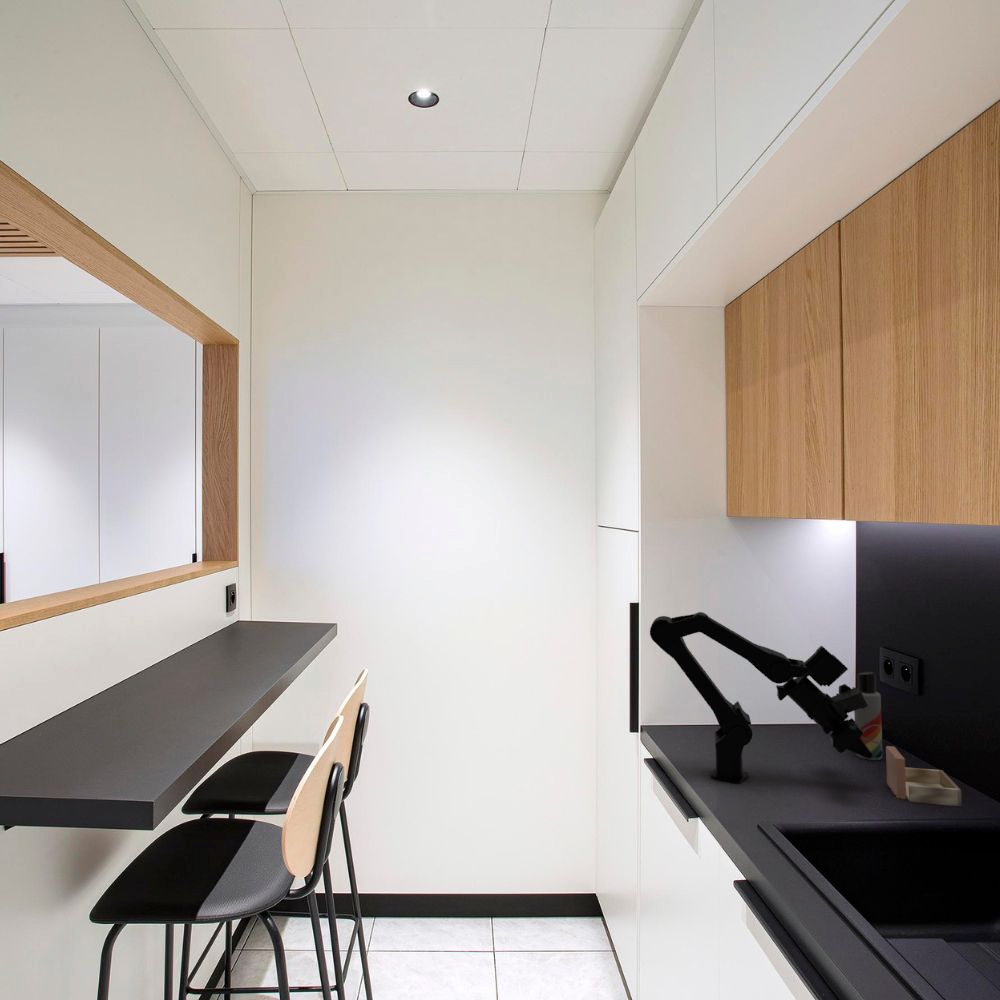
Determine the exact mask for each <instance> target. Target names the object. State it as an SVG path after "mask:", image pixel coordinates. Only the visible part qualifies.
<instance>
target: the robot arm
mask: <svg viewBox="0 0 1000 1000" xmlns="http://www.w3.org/2000/svg"><path fill="white" fill-rule="evenodd" d="M698 633H701V634H703V635H705V636H706V637H707V638H710V639H711V640H713V641H715V642H716V643H718V644H720V645H721V646H723V647H725V648H726V649H728V650H730V651H731V652H733V653H735V654H737V655H738V656H740V657H741V658H743V659H744V660H747V661H748V662H749V663H750V664H751V665H752V666H753V667H754V668H755V669H756V670H758V671H759V672H760V673H761V674H762V675H763V676H764V677H765V678H767V679H768V680H769V681H770V682H772V683H773V684H774V683H775V684H777V685H776V686H775V688H776V691H777V692H776V696H777V699H778V701H783V700H784V699H785V698H786V697H789V698H790V699H791V700H792V702H794V703H795V704H796V705H797V706H798V707H799V708H800V709H801V710H802V711H803V712H804V713H805V714H806V716H807V717H808V718H809V719H810V720H811V721H813V722H814V723H816V724H817V725H818V726H819V728H820V729H821V730H822V732H823V733H825V735H829V743H831V745H832V747H833V748H834V749H835V750H837V752H838V753H839V754H842V753H844V752H845V751H846V750H848V751H849V752H851V753H854V754H856V753H857V754H859V755H861V756H864V757H866V758H868V759H870V758H871V757H872V756H873V755H872V753H871V752H870V751H869V749H868V748H867V747H866V745H865V744H864V743H863V741H862V740H861V738H860V737H861V736H862V735H863V732H862V730H861V729H860V728H859V726H858V725H857V724H855V720H854V719H853V718H851V717H850V718H849V716H850V715H849V714H848V713H851V712H852V713H853V712H854V711H855V710H858V709H860V708H862V709H863V708H866V707H867V706H868V704H867V702H866V700H865V699H864V697H863V695H862V693H861V691H860V690H859V689H858V687H855V686H853V687H852V688H851V687H850V686H848V684H846V683H844V684H841V685H839V686H838V693H836V694H835V695H833V696H832V697H831V696H830V695H829V694H828V693H825V692H823V691H822V690H821V689H820V688H819V687H818V686H817V685H815V683H816V684H818V685H819V686H820V687H826V686H827V687H830V686H831V685H832V684H833V683H835V682H836V681H838V679H840V677H841V676H842V675H844V673H846V672H847V671H848V670H849V668H848V667H847V666H846V665H845V664H843V662H842V661H841V660H839V658H837V656H835V655H834V654H831V652H829V651H828V650H827V649H826V648H825V647H824V646H823V645H820V646H819V647H818V648H817V649H816V650H815V652H814V653H813V654H812V655H811V656H809V657H808V658H807V659H806V660H805V661H804V660H800V659H795V658H789V657H787V655H785V654H783V653H782V652H779V651H777V650H774V649H771V648H769V647H765V646H763V645H759V644H756V643H754V642H752V641H750V640H749V639H747V638H746V637H744V636H742V635H741V634H739V633H737V632H735V631H734V630H732V629H730V628H729V627H727V626H725V625H723V624H722V623H720V622H718V621H717V620H715V619H713V618H711V617H710V616H709V615H708V614H707V613H705V612H703V611H699V612H696V613H692V614H688V615H687V614H686V615H680V616H675V617H670V616H668V615H667V616H666V615H661V616H658V617H656V618H655V619H653V621H652V623H651V626H650V628H649V636H650V638H651V640H652V641H653V642H654V643H655V644H656V645H657V646H658V647H659V648H660V649H661V650H662V651H663V652H664V653H666V654H667V655H669V656H670V657H671V658H672V659H673V660H674V661H675V662H676V664H677V665H678V666H679V668H680V669H681V670H682V672H683V673H684V674H685V676H686V677H687V679H688V680H689V681H690V682H691V684H692V685H693V687H694V688H695V689H696V691H697V692H698V693H699V694H700V696H701V697H702V698H703V699H704V701H705V702H706V704H707V705H708V707H709V708H710V709H711V710H712V712H713V714H714V716H715V718H716V721H717V723H718V725H719V728H718V729H717V730H716V731H715V732H714V733H713V734H714V745H715V747H714V749H715V752H714V753H715V755H714V757H715V770H714V771H713V772H712V773H710V775H709V777H710V778H712V779H717V780H721V781H725V782H730V783H735V784H740V783H742V782H743V781H744V780H745V779H746V778H748V776H749V772H747V771H744V768H743V767H744V765H743V764H744V760H743V750H744V747H745V746H748V744H750V742H751V741H752V739H753V731H752V726H751V725H752V722H751V718H750V715H749V714H748V713H747V712H745V710H744V709H743V707H742V705H741V704H740V702H739V701H738V700H737V701H736V702H735V703H734V704H733V703H732V702H730V700H728V699H727V698H726V697H725V695H723V693H722V692H721V691H720V689H719V688H718V686H717V685H716V684H715V682H714V680H712V678H711V677H710V676H709V674H708V673H707V672H706V670H705V669H704V668H703V666H702V665H701V664H700V663H699V661H698V660H697V659H696V657H695V655H694V654H693V653H692V651H690V649H689V648H688V646H687V643H686V642H685V639H684V637H687V636H690V635H693V634H698ZM808 677H810V678H812V679H813V681H814V682H815V683H813V681H811V679H809V678H808ZM779 684H782V685H779ZM848 718H849V719H848Z"/></svg>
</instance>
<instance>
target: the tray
mask: <svg viewBox="0 0 1000 1000" xmlns="http://www.w3.org/2000/svg"><path fill="white" fill-rule="evenodd" d="M905 778H906V799H907V800H908V801H909V802H910V803H918V804H927V805H937V806H940V805H941V806H949V807H962V804H963V803H962V789H961V788H960V787H959V786H958V785H957V784H956V783H955V782H954V781H953V780H952V779H951V778H950V777H949V775H948V774H947V773H945V771H944V770H942V769H934V768H933V769H931V768H918V767H917V768H916V767H906V766H905Z"/></svg>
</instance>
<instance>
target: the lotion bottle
mask: <svg viewBox="0 0 1000 1000" xmlns="http://www.w3.org/2000/svg"><path fill="white" fill-rule="evenodd" d="M876 677H877V676H876V674H875V672H874V671H873V672H872V671H861V672H859V673H857V688H858V689H859V690H860V691H861V693H862V695H863V697H864V699H865V700H866V702H867V704H868V706H867V707H866V708H863V709H862V708H860V709H858V710H855V711H853V715H854V717H853V718H854V719H853V720H854V721H855V724H857V725H858V726H859V728H860V729H861V730H862V732H863V735H862V736H861V737H860V738H861V740H862V741H863V743H864V744H865V745H866V747H867V748H868V749H869V751H870V752H871V753H872V755H873V756H872V757H871V758H870V759H868V758H866V757H864V756H861V755H859V754H857V753H855V756H856V757H857V758H860V759H863V760H866V759H867V760H868V761H879V760H882V758H883V726H882V724H883V723H882V698H881V693H880V692H878V691H877V686H876V685H877V679H876Z"/></svg>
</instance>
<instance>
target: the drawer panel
mask: <svg viewBox="0 0 1000 1000" xmlns="http://www.w3.org/2000/svg"><path fill="white" fill-rule="evenodd" d="M885 753H886V754H885V758H886V759H885V760H886V784H887V787H889V789H890V788H891V789H890V790H891V792H892V793H893V794H894V795H896V796H895V798H896V799H899V798H901V799H902V800H906V799H907V797H906V778H905V767H906V759H905V757H904V756H903V755H902V754H901V753H900V752H899V750H898V749H897V748H896V747H895V746H891V745H887V746H886V745H885Z"/></svg>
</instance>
